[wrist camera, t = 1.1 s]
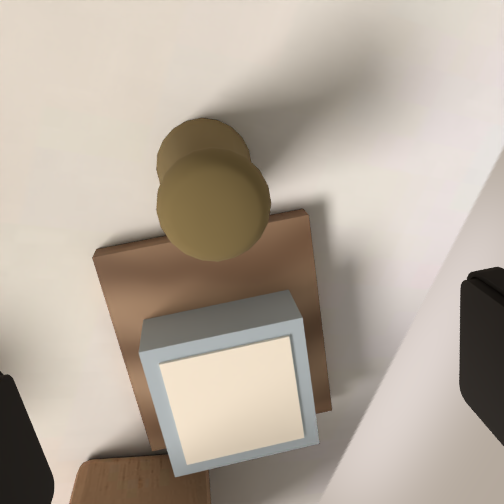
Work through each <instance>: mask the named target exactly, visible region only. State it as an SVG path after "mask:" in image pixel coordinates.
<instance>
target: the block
mask: <svg viewBox="0 0 504 504" xmlns="http://www.w3.org/2000/svg"><path fill="white" fill-rule="evenodd" d="M69 504H211V497H210V483H209V470H205V471H200V472H196V473H192V474H188V475H183V476H179V477H175V475H174V472H173V468H172V465H171V462H170V458H169V455H153V456H138V457H123V458H109V459H94V460H89V461H86V462H84V463H83V464H82V465H81V466H80V468H79V470H78V473H77V475H76V479H75V483H74V487H73V491H72V495H71V499H70V503H69Z"/></svg>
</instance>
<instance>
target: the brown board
mask: <svg viewBox="0 0 504 504" xmlns="http://www.w3.org/2000/svg"><path fill="white" fill-rule="evenodd" d="M92 258H93V261H94V265H95V268H96V271H97V274H98V278H99V281H100V284H101V287H102V291H103V294H104V297H105V300H106V304H107V307H108V310H109V313H110V316H111V320H112V323H113V326H114V329H115V333H116V336H117V339H118V342H119V346H120V349H121V352H122V355H123V359H124V362H125V365H126V368H127V371H128V375H129V378H130V381H131V384H132V388H133V391H134V394H135V397H136V401H137V404H138V407H139V410H140V414H141V417H142V420H143V423H144V427H145V430H146V433H147V436H148V439H149V443H150V446H151V449H152V451H156V450H160V449H165V448H166V445H165V441H164V438H163V434H162V431H161V427H160V424H159V421H158V417H157V414H156V410H155V407H154V404H153V400H152V397H151V393H150V390H149V387H148V383H147V380H146V376H145V373H144V369H143V366H142V363H141V359H140V356H139V346H140V339H141V332H142V325H143V320H145V319H150V318H154V317H159V316H164V315H169V314H174V313H178V312H183V311H188V310H193V309H198V308H202V307H207V306H212V305H217V304H222V303H226V302H231V301H236V300H241V299H246V298H250V297H255V296H260V295H265V294H270V293H274V292H279V291H284V290H289V291H290V293H291V295H292V297H293V299H294V301H295V303H296V305H297V307H298V309H299V311H300V313H301V316H302V318H303V325H304V332H305V339H306V347H307V354H308V362H309V369H310V376H311V384H312V391H313V398H314V406H315V413H316V414H318V413H322V412H327V411H331V410H332V406H331V397H330V389H329V381H328V372H327V364H326V355H325V347H324V338H323V330H322V322H321V313H320V305H319V296H318V288H317V280H316V271H315V263H314V254H313V246H312V238H311V229H310V221H309V215H308V213H307V212H306V211H305V210H304V209H299V210H294V211H289V212H284V213H279V214H274V215H269V221H268V224H267V226H266V228H265V230H264V232H263V234H262V236H261V238H260V239H259V240H258V241H257V242H256V243H255V244H254V245H253V246H252V247H251V248H250V249H249V250H248V251H246V252H244V253H243V254H241V255H239V256H237V257H235V258H232V259H228V260H223V261H219V262H216V261H203V260H199V259H196V258H194V257H191V256H189V255H186V254H185V253H183V252H182V251H181V250H180V249H178V248H177V247H176V246H175V245H173V244H172V243H171V242H170V240H169V239H168V237H167V236H162V237H157V238H151V239H146V240H141V241H136V242H131V243H126V244H121V245H116V246H111V247H106V248H100V249H96V251H95V253H94V255H93V257H92Z"/></svg>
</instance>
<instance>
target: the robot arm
mask: <svg viewBox="0 0 504 504" xmlns="http://www.w3.org/2000/svg"><path fill="white" fill-rule="evenodd" d="M460 296H461V297H460V374H459V375H460V377H459V385H460V391H461V394H462V396H463V398H464V400H465V401H466V403H467V404H468V405H469V406H470V407H471V409H472V410H473V411H474V412H475V413H476V414H477V416H478V417H479V418H480V419H481V420H482V421H483V422H484V424H485V425H486V426H487V427H488V428H489V430H490V431H491V432H492V433H493V434H494V435H495V437H496V438H497V439H498V440H499V441H500V442H501V444H502V445H503V446H504V269H503V268H500V267H494V268H489V269H484V270H479V271H474V272H471V273H470V274H469V275H468V277H467V280H464V281H463V282H462V284H461V295H460ZM53 494H54V479H53V475H52V472H51V470H50V467H49V465H48V462H47V460H46V458H45V455H44V453H43V450H42V448H41V445H40V443H39V440H38V438H37V436H36V433H35V431H34V428H33V426H32V423H31V421H30V419H29V416H28V414H27V411H26V409H25V406H24V404H23V401H22V399H21V397H20V394H19V392H18V389H17V387H16V384H15V382H14V380H13V378H12V377H11V376H10V375H8V374H7V375H3V374H2V372H1V371H0V504H51V501H52V498H53Z"/></svg>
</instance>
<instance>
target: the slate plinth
mask: <svg viewBox="0 0 504 504" xmlns="http://www.w3.org/2000/svg"><path fill="white" fill-rule="evenodd" d="M139 356H140V359H141V363H142V366H143V369H144V373H145V376H146V380H147V383H148V387H149V390H150V393H151V397H152V400H153V404H154V407H155V410H156V414H157V417H158V421H159V424H160V427H161V431H162V434H163V438H164V441H165V445H166V448H167V451H168V455H169V458H170V462H171V465H172V468H173V472H174V475H175V477H179V476H183V475H188V474H192V473H196V472H200V471H205V470H209V469H213V468H218V467H222V466H226V465H230V464H235V463H239V462H243V461H248V460H252V459H256V458H260V457H265V456H269V455H273V454H278V453H282V452H286V451H290V450H295V449H299V448H303V447H308V446H312V445H316V444H320V443H319V435H318V428H317V421H316V413H315V406H314V398H313V391H312V384H311V376H310V369H309V362H308V354H307V347H306V339H305V332H304V325H303V318H302V316H301V313H300V311H299V309H298V307H297V305H296V303H295V301H294V299H293V297H292V295H291V293H290V291H289V290H284V291H279V292H274V293H270V294H265V295H260V296H255V297H250V298H246V299H241V300H236V301H231V302H226V303H222V304H217V305H212V306H207V307H202V308H198V309H193V310H188V311H183V312H178V313H174V314H169V315H164V316H159V317H154V318H150V319H145V320H143V325H142V332H141V339H140V346H139Z"/></svg>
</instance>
